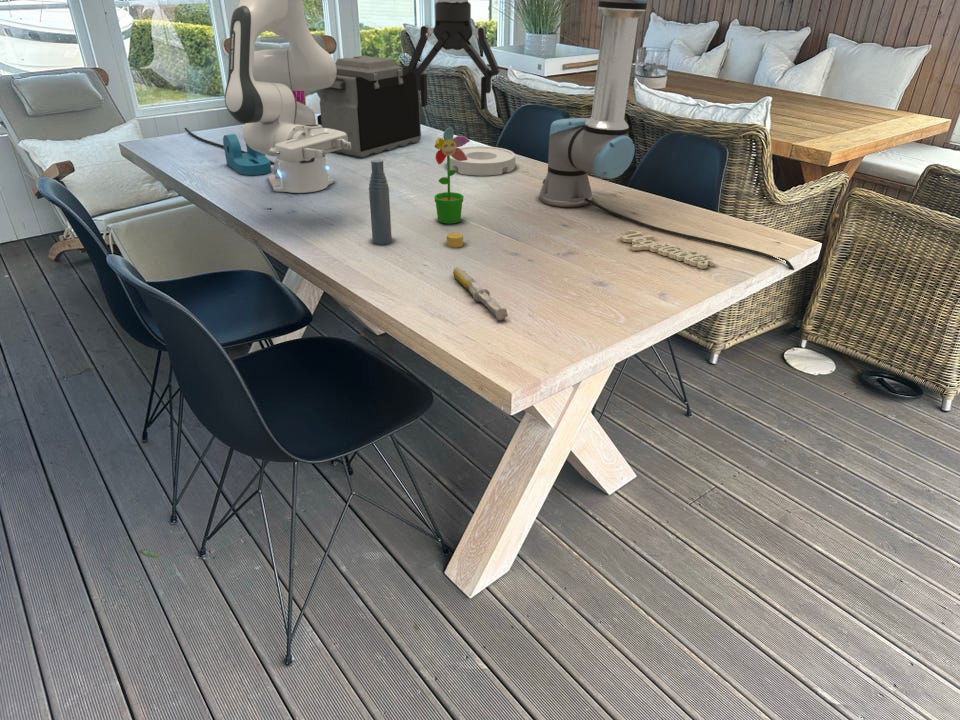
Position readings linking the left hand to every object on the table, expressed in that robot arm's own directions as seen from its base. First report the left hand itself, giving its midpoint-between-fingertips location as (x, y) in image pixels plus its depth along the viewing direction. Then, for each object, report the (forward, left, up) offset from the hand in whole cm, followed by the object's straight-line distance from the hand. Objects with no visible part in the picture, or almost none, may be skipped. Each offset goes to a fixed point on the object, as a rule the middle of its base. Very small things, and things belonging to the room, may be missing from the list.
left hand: (336, 150), depth 168 cm
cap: (+23, +20, -19) cm, 36 cm away
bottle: (+11, +5, -21) cm, 24 cm away
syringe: (+52, +8, -21) cm, 56 cm away
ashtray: (-35, +65, -21) cm, 77 cm away
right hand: (+23, +20, +12) cm, 33 cm away
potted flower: (+7, +28, -21) cm, 36 cm away
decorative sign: (+54, +61, -21) cm, 84 cm away
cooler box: (-81, +46, -21) cm, 95 cm away
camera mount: (-72, -2, -21) cm, 75 cm away
